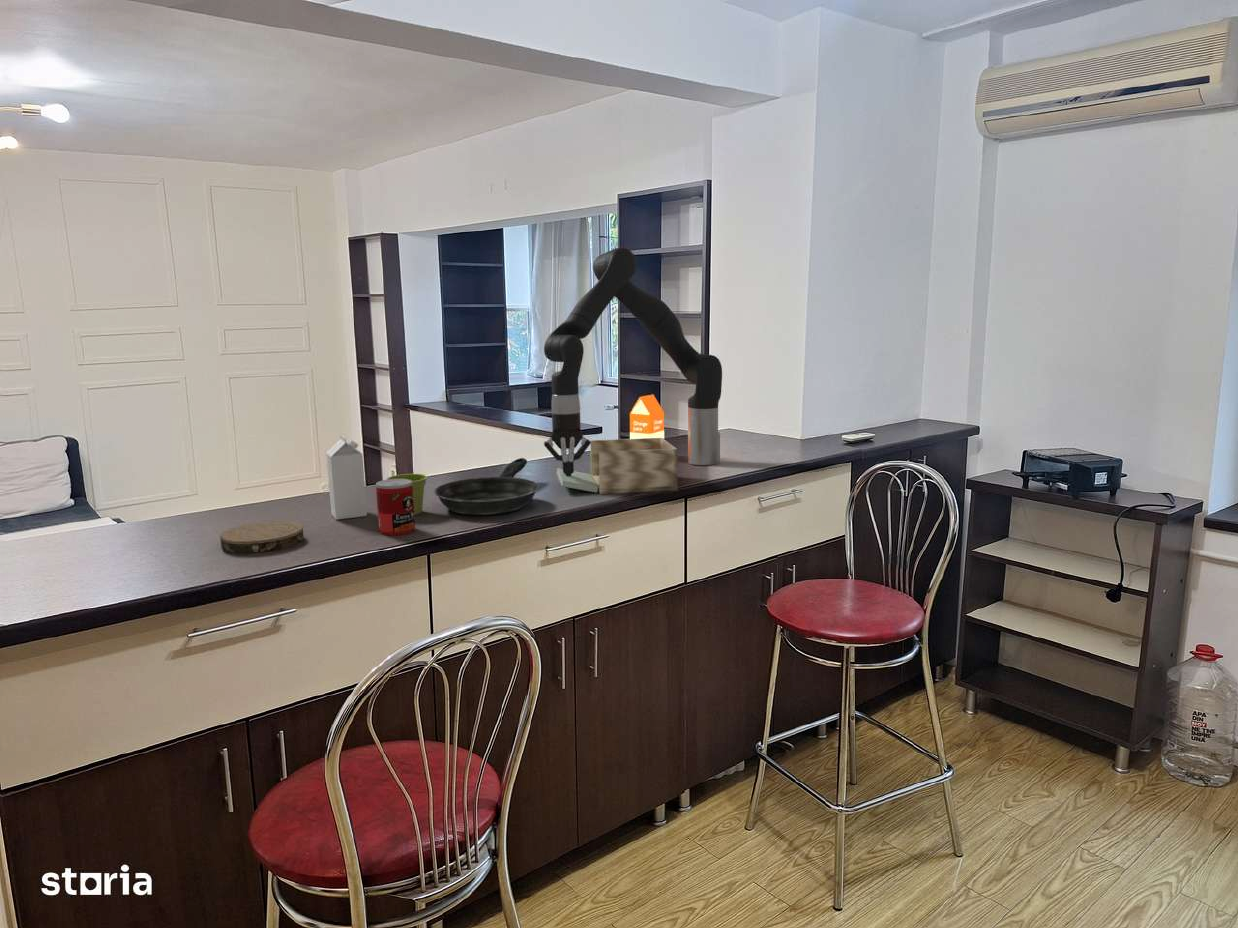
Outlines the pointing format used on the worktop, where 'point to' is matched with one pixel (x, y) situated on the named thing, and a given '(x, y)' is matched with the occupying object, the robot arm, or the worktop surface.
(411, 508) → the canned food
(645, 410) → the orange juice
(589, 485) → the tailgate
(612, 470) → the crate
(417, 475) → the plant pot
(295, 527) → the brown flat disc
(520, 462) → the frying pan
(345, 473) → the milk carton
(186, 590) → the worktop surface
